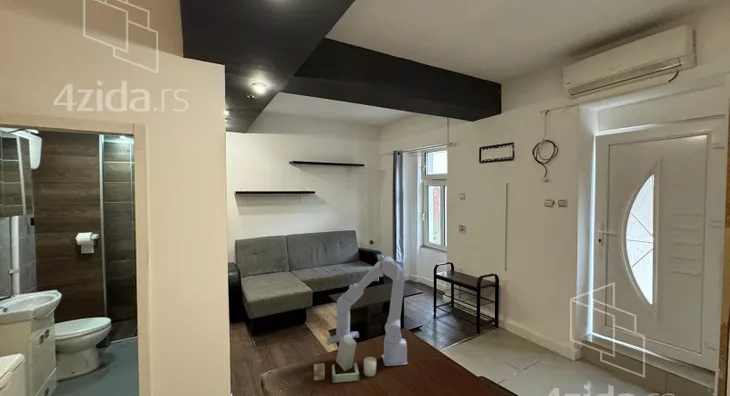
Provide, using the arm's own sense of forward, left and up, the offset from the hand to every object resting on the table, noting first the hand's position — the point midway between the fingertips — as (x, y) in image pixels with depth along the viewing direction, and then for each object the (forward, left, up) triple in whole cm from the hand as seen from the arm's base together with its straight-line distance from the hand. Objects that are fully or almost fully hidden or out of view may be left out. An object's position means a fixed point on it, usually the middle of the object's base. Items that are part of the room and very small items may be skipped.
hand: (342, 357), depth 129 cm
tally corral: (0, +11, -2) cm, 11 cm away
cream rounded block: (-10, +10, -2) cm, 14 cm away
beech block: (+10, +10, -2) cm, 14 cm away
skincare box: (0, +4, -1) cm, 4 cm away
